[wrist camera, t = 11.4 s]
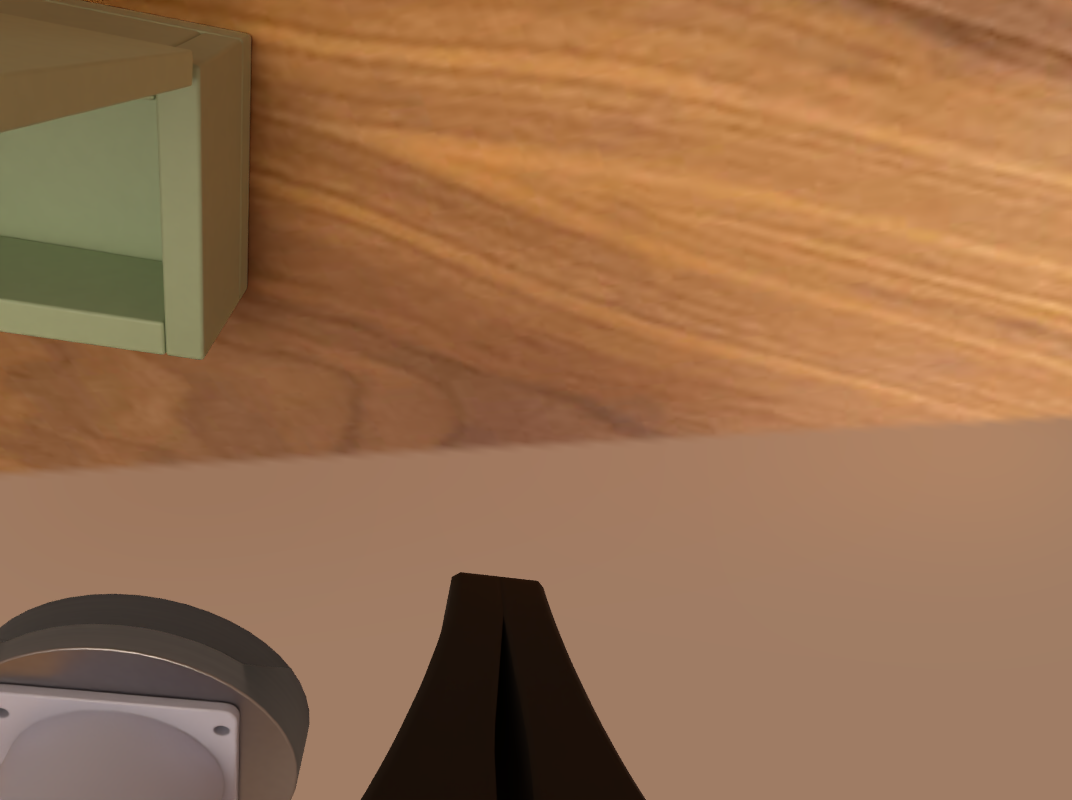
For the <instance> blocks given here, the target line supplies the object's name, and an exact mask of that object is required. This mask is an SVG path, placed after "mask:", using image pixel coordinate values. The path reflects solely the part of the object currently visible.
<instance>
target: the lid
mask: <svg viewBox="0 0 1072 800" xmlns="http://www.w3.org/2000/svg"><path fill="white" fill-rule="evenodd" d="M192 68H193V53H192V51H191V50H188V49H183V48H178V47H173V46H168V45H163V44H157V43H152V42H147V41H142V40H137V39H132V38H127V37H121V36H116V35H111V34H106V33H101V32H96V31H91V30H85V29H80V28H75V27H70V26H65V25H60V24H55V23H50V22H44V21H39V20H34V19H29V18H24V17H19V16H14V15H8V14H3V13H0V133H2V132H6V131H11V130H15V129H19V128H23V127H27V126H31V125H35V124H39V123H43V122H47V121H51V120H55V119H59V118H63V117H67V116H71V115H76V114H80V113H84V112H88V111H92V110H96V109H100V108H104V107H108V106H112V105H116V104H120V103H124V102H128V101H132V100H137V99H141V98H145V97H149V96H153V95H157V94H161V93H165V92H169V91H173V90H177V89H181V88H185V87H189V86H192Z"/></svg>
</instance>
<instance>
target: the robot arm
mask: <svg viewBox="0 0 1072 800" xmlns="http://www.w3.org/2000/svg"><path fill="white" fill-rule="evenodd" d="M239 722H240V713H239V710H238V709H237V708H236V707H235V706H234V705H232V704H229V703H223V702H211V701H200V700H188V699H176V698H165V697H153V696H141V695H129V694H118V693H106V692H94V691H83V690H71V689H59V688H48V687H36V686H24V685H13V684H0V800H238V785H239ZM361 800H646V799H645V798H644V796H643V795H642V793H641V792H640V790H639V788H638V787H637V785H636V784H635V782H634V780H633V779H632V777H631V775H630V774H629V772H628V771H627V769H626V767H625V766H624V764H623V762H622V760H621V758H620V757H619V755H618V753H617V751H616V750H615V748H614V746H613V744H612V742H611V741H610V739H609V737H608V735H607V733H606V731H605V730H604V728H603V726H602V724H601V722H600V720H599V718H598V716H597V714H596V712H595V711H594V709H593V707H592V705H591V702H590V700H589V698H588V696H587V694H586V692H585V690H584V688H583V686H582V684H581V682H580V679H579V677H578V675H577V673H576V671H575V669H574V667H573V664H572V662H571V660H570V658H569V655H568V653H567V651H566V648H565V646H564V643H563V641H562V638H561V636H560V634H559V631H558V629H557V626H556V623H555V621H554V618H553V615H552V613H551V610H550V607H549V604H548V601H547V598H546V595H545V592H544V589H543V587H542V585H541V584H540V583H539V582H538V581H533V580H524V579H515V578H506V577H497V576H488V575H480V574H471V573H462V572H460V573H459V574H457V575H455V576H453V577H452V580H451V585H450V590H449V595H448V600H447V605H446V610H445V615H444V620H443V626H442V630H441V634H440V637H439V640H438V643H437V646H436V648H435V651H434V654H433V656H432V659H431V661H430V664H429V666H428V669H427V671H426V674H425V677H424V679H423V681H422V684H421V686H420V688H419V690H418V693H417V695H416V697H415V699H414V701H413V703H412V705H411V708H410V709H409V712H408V714H407V716H406V718H405V720H404V722H403V724H402V726H401V728H400V731H399V732H398V734H397V736H396V738H395V740H394V742H393V744H392V746H391V748H390V750H389V751H388V753H387V755H386V757H385V759H384V761H383V762H382V764H381V766H380V768H379V770H378V771H377V773H376V775H375V777H374V778H373V780H372V782H371V784H370V785H369V787H368V789H367V790H366V792H365V794H364V795H363V797H362V799H361Z"/></svg>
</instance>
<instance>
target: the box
mask: <svg viewBox="0 0 1072 800" xmlns="http://www.w3.org/2000/svg"><path fill="white" fill-rule="evenodd" d="M0 13H3V14H8V15H14V16H19V17H24V18H29V19H34V20H39V21H44V22H50V23H55V24H60V25H65V26H70V27H75V28H80V29H85V30H91V31H96V32H101V33H106V34H111V35H116V36H121V37H127V38H132V39H137V40H142V41H147V42H152V43H157V44H163V45H168V46H173V47H178V48H183V49H188V50H191V51H192V53H193V68H192V86H189V87H185V88H181V89H177V90H173V91H169V92H165V93H161V94H157V95H153V96H149V97H145V98H141V99H137V100H132V101H128V102H124V103H120V104H116V105H112V106H108V107H104V108H100V109H96V110H92V111H88V112H84V113H80V114H76V115H71V116H67V117H63V118H59V119H55V120H51V121H47V122H43V123H39V124H35V125H31V126H27V127H23V128H19V129H15V130H11V131H6V132H2V133H0V331H1V332H8V333H15V334H22V335H29V336H36V337H43V338H50V339H57V340H64V341H71V342H78V343H85V344H92V345H99V346H106V347H113V348H120V349H127V350H134V351H141V352H148V353H155V354H165V353H167V354H168V355H170V356H177V357H184V358H191V359H198V360H202V359H204V357H205V356H206V354H207V353H208V351H209V349H210V348H211V346H212V344H213V343H214V341H215V340H216V338H217V336H218V335H219V333H220V331H221V330H222V328H223V327H224V325H225V323H226V322H227V320H228V318H229V317H230V315H231V313H232V312H233V310H234V309H235V307H236V305H237V304H238V302H239V300H240V299H241V297H242V295H243V294H244V292H245V291H246V289H247V274H248V213H249V152H250V92H251V36H250V35H249V34H247V33H243V32H238V31H233V30H228V29H223V28H218V27H213V26H208V25H203V24H198V23H193V22H188V21H182V20H177V19H172V18H167V17H162V16H157V15H152V14H147V13H142V12H137V11H132V10H127V9H122V8H117V7H112V6H107V5H102V4H97V3H92V2H87V1H82V0H0Z"/></svg>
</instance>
